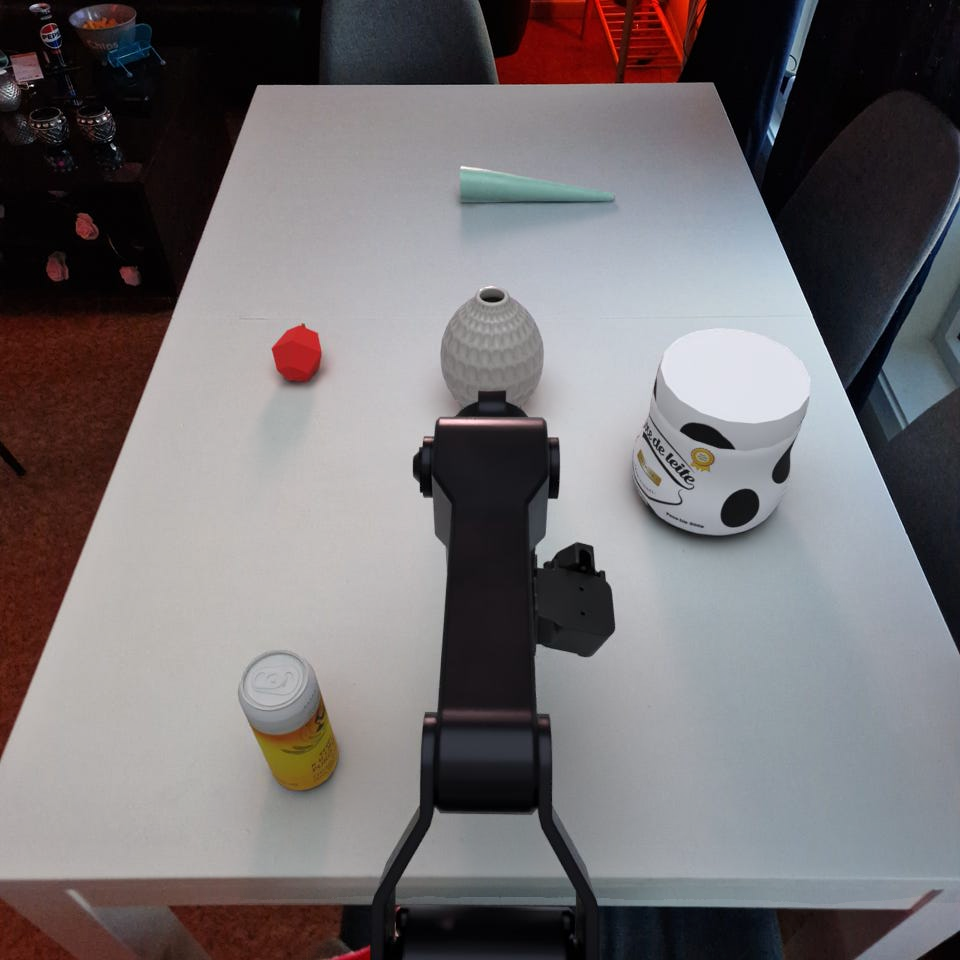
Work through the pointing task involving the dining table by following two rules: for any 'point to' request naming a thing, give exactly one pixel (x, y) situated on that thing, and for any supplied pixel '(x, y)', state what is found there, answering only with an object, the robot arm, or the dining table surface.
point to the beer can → (289, 718)
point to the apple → (297, 353)
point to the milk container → (720, 431)
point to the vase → (492, 349)
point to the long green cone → (520, 188)
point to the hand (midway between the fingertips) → (490, 684)
